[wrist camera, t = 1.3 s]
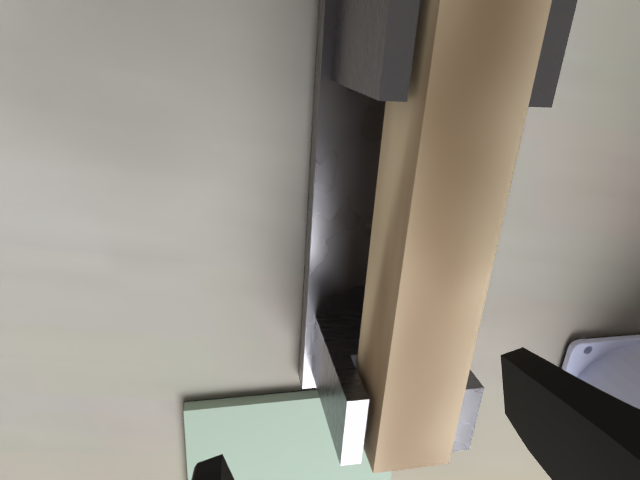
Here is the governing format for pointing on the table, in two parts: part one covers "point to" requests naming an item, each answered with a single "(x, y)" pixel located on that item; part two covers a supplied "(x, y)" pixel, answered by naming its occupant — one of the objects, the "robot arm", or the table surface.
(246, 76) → the table surface
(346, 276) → the grey u-shaped holder
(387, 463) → the beech rail
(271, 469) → the green mat
